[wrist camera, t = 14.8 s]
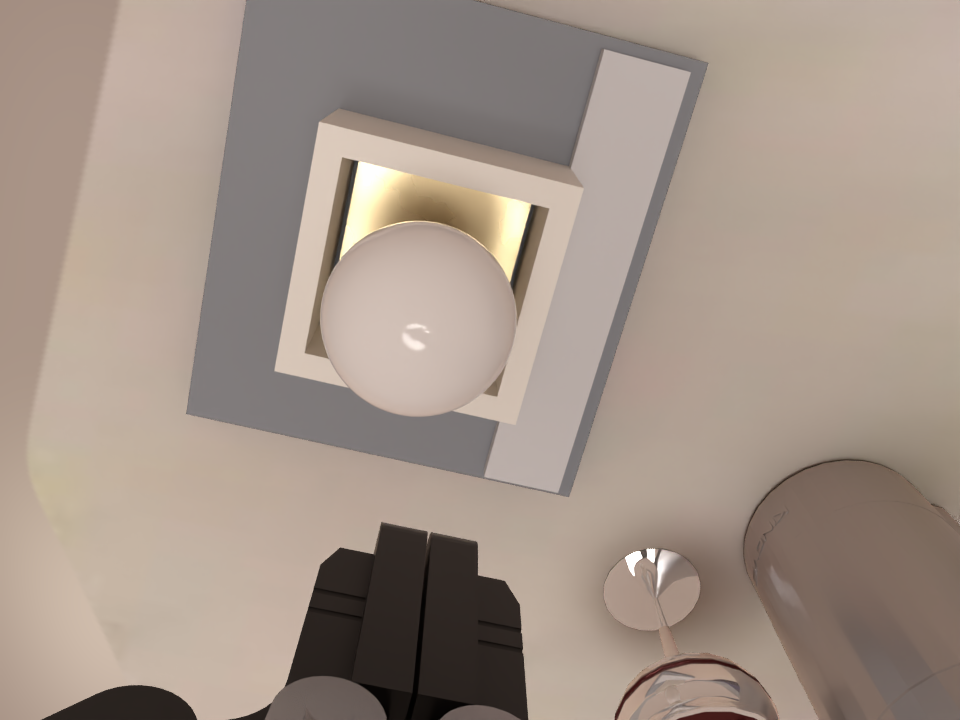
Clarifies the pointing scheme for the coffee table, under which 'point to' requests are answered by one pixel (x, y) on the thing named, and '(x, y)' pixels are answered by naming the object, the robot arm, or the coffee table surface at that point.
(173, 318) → the coffee table surface
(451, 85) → the socket board
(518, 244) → the socket plunger
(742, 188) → the coffee table surface
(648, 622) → the wineglass
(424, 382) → the lightbulb
